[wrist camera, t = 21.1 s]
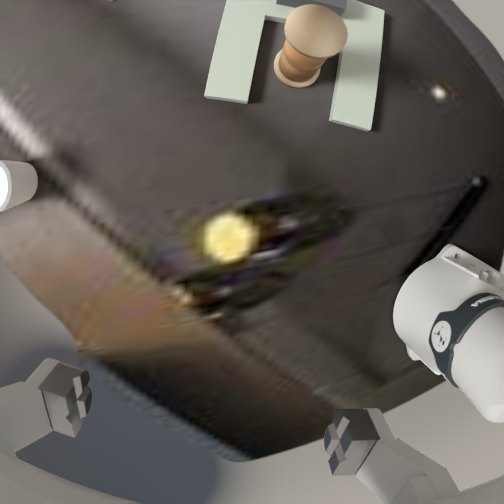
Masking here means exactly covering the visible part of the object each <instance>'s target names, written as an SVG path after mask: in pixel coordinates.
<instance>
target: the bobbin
mask: <svg viewBox="0 0 504 504" xmlns="http://www.w3.org/2000/svg"><path fill="white" fill-rule="evenodd" d="M284 31H285V36H286V40H285V43H284V46H283V49H282V50H281V51H279V53H278V54H277V55H276V58H275V61H274V71H275V74H276V76H277V77H278V79H279V80H280V81H281V82H282V83H284V84H285V85H287V86H290V87H293V88H304V87H307V86H309V85H311V84H312V83H314V82H315V80H316V79H317V78H318V76H319V74H320V70H321V66H322V65H323V63H324V62H325V61H326V59H327V58H330V57H332V56H334V55H336V54H338V53H339V52H340V51H341V49H342V48H343V47H344V46H345V44H346V42H347V38H348V32H347V27H346V25H345V23H344V21H343V20H342V18H341V17H340V16H339V15H338V14H337V13H335V12H334V11H332V10H331V9H329V8H327V7H324V6H321V5H315V4H308V5H303V6H300V7H297V8H296V9H294V10H293V11H292V12H291V13H290V14H289V15H288V17H287V19H286V23H285V27H284Z"/></svg>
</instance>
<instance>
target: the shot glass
mask: <svg viewBox="0 0 504 504" xmlns="http://www.w3.org/2000/svg"><path fill="white" fill-rule="evenodd" d="M37 186H38V177H37V173H36V170H35V169H34V167H33V166H32V165H30V164H29V163H25V162H15V161H5V160H0V212H2V211H4V210H6V209H9V208H11V207H13V206H16V205H18V204H21V203H23V202H25V201H28V200H30V199H31V198H32V197H33V196H34V194H35V192H36V189H37Z"/></svg>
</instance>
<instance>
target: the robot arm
mask: <svg viewBox="0 0 504 504" xmlns="http://www.w3.org/2000/svg"><path fill="white" fill-rule="evenodd" d="M456 254H457V255H456ZM455 255H456V257H455ZM503 288H504V277H503V275H502V274H501V273H500V272H498V271H497V270H495V269H494V268H492V267H490V266H489V265H487V264H486V263H484V262H482V261H481V260H479V259H477V258H476V257H474V256H472V255H471V254H469V253H467V252H465V251H464V250H462V249H460V248H458V247H457V246H455V245H453V244H448V245H447V246H445V247H444V248H443V249H442V251H441V252H440V253H439V254H438V255H437V256H436V257H435V258H434V259H432V260H430V261H428V262H426V263H425V264H423V265H421V266H420V267H419V268H417V269H416V270H415V271H414V272H413V273H412V274H411V275H410V276H409V277H408V279H407V280H406V281H405V283H404V284H403V286H402V287H401V289H400V291H399V293H398V296H397V298H396V301H395V305H394V311H393V322H394V327H395V330H396V332H397V334H398V336H399V337H400V338H401V339H402V340H403V341H404V343H405V344H406V347H407V352H408V355H409V357H410V358H412V359H413V360H421V361H422V362H423V363H425V364H426V365H427V366H428V367H429V368H430V369H431V370H432V371H433V372H434V373H435V374H438V375H440V374H442V375H443V376H444V378H445V379H446V380H447V381H449V382H450V383H451V384H452V385H453V386H455V387H457V388H460V389H461V390H462V391H463V392H464V394H465V395H466V396H467V397H468V398H469V400H470V401H471V402H472V403H473V404H474V405H475V407H476V408H477V409H478V411H479V412H480V413H481V414H482V415H483V417H484V418H486V419H487V420H489V421H491V422H494V423H501V422H504V289H503ZM89 380H90V379H89V373H88V371H86V370H84V369H81V368H78V367H75V366H72V365H69V364H66V363H63V362H60V361H57V360H54V359H51V358H47V359H45V360H44V361H43V363H42V364H41V365H40V366H39V367H38V368H37V369H36V370H35V371H34V372H33V374H32V375H31V376H30V377H29V378H28V379H27V381H26V382H25V383H24V382H18V383H15V384H12V385H8V386H5V387H2V388H0V504H142V503H138V502H133V501H130V500H126V499H122V498H119V497H115V496H112V495H108V494H105V493H102V492H99V491H96V490H92V489H90V488H87V487H83V486H81V485H78V484H76V483H73V482H70V481H67V480H65V479H62V478H60V477H57V476H55V475H52V474H50V473H48V472H45V471H43V470H41V469H39V468H37V467H34V466H32V465H30V464H28V463H26V462H24V461H22V460H20V459H18V458H17V456H16V454H15V452H16V451H18V450H20V449H22V448H24V447H25V446H27V445H29V444H31V443H33V442H34V441H36V440H38V439H40V438H41V437H43V436H45V435H47V434H48V433H50V432H52V430H54V431H57V432H60V433H63V434H66V435H69V436H71V437H75V436H76V434H77V432H78V430H79V429H80V427H81V425H82V423H81V418H83V417H85V416H87V414H88V412H89V410H90V406H91V399H92V395H91V390H90V389H89V387H88V386H87V384H88V382H89ZM332 418H333V422H334V423H332V424H331V425H329V426H328V428H327V430H326V432H325V438H324V446H325V450H326V452H327V453H328V454H329V455H330V456H331V457H330V459H329V461H328V462H329V465H330V469H331V472H332V475H356V477H357V478H358V479H359V480H360V481H361V482H362V483H363V484H364V485H365V486H366V487H367V488H368V489H369V490H370V491H371V492H372V493H373V494H375V495H376V496H377V497H378V498H379V499H380V500H381V501H382V502H383V503H384V504H504V475H502V476H500V477H498V478H495V479H493V480H490V481H488V482H485V483H483V484H480V485H477V486H475V487H473V488H469V489H466V490H463V491H461V492H459V490H458V488H457V486H456V485H455V483H454V481H453V480H452V477H451V476H450V474H449V472H448V471H447V469H446V468H444V467H443V466H441V465H439V464H437V463H436V462H435V461H433V460H431V459H430V458H428V457H426V456H425V455H423V454H422V453H420V452H419V451H417V450H415V449H414V448H412V447H411V446H409V445H408V444H406V443H404V442H403V441H401V440H400V439H395V438H394V436H393V434H392V432H391V430H390V428H389V427H388V424H387V423H386V420H385V419H384V417H383V415H382V413H381V411H380V410H379V409H378V408H369V409H337V410H336V411H335V412H334V414H333V417H332Z"/></svg>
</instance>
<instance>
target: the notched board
mask: <svg viewBox="0 0 504 504" xmlns="http://www.w3.org/2000/svg"><path fill="white" fill-rule="evenodd" d="M308 4H315V5H321V6H324V7H327V8H329V9H331V10H332V11H334V12H335V13H337V14H338V15H339V16H340V17H341V18H342V20H343V21H344V23H345V25H346V27H347V32H348V38H347V42H346V44H345V46H344V47H343V48H342V49H341V51H340V54H339V61H338V68H337V74H336V81H335V87H334V94H333V100H332V106H331V112H330V118H329V121H331V122H335V123H338V124H342V125H346V126H350V127H353V128H357V129H360V130H364V131H370V130H371V126H372V120H373V113H374V106H375V99H376V92H377V84H378V76H379V67H380V58H381V48H382V36H383V24H384V10H382V9H379V8H376V7H373V6H371V5H368V4H365V3H362V2H359V1H356V0H227V1H226V5H225V9H224V13H223V17H222V20H221V24H220V28H219V32H218V36H217V41H216V45H215V49H214V53H213V57H212V62H211V66H210V71H209V75H208V80H207V85H206V89H205V94H204V96H205V98H210V99H217V100H225V101H231V102H238V103H244V104H247V103H248V98H249V92H250V87H251V82H252V77H253V72H254V67H255V62H256V58H257V53H258V48H259V43H260V38H261V34H262V29H263V24H264V20H269V21H274V22H280V23H286V19H287V17H288V15H289V14H290V13H291V12H292V11H293V10H294V9H296V8H297V7H300V6H303V5H308Z"/></svg>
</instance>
